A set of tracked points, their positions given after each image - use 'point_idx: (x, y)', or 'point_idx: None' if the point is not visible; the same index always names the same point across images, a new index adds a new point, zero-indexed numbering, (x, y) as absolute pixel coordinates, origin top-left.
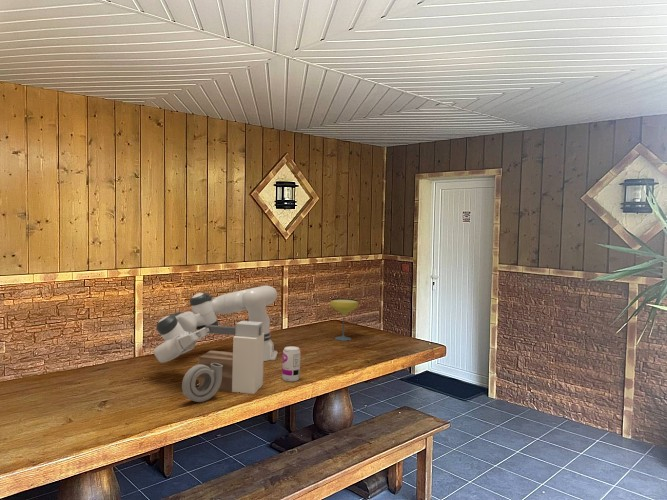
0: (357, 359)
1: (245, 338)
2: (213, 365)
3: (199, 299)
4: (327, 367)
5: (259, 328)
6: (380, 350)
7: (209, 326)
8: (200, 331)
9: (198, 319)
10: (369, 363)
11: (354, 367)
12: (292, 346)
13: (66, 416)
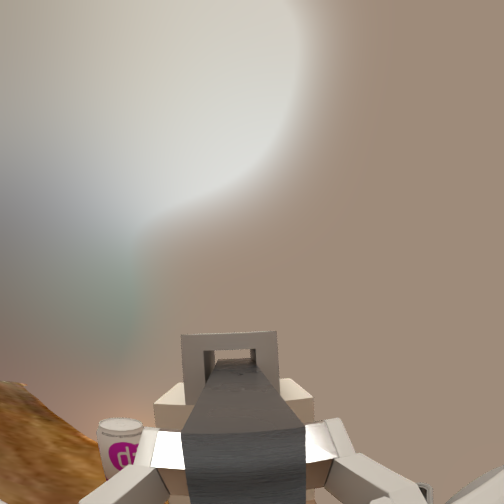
0: (29, 421)
1: (298, 386)
2: (432, 498)
3: None
4: (57, 450)
5: (213, 357)
6: (2, 401)
7: (290, 408)
8: (409, 482)
9: None
10: (56, 421)
11: (70, 433)
12: (100, 422)
13: None
